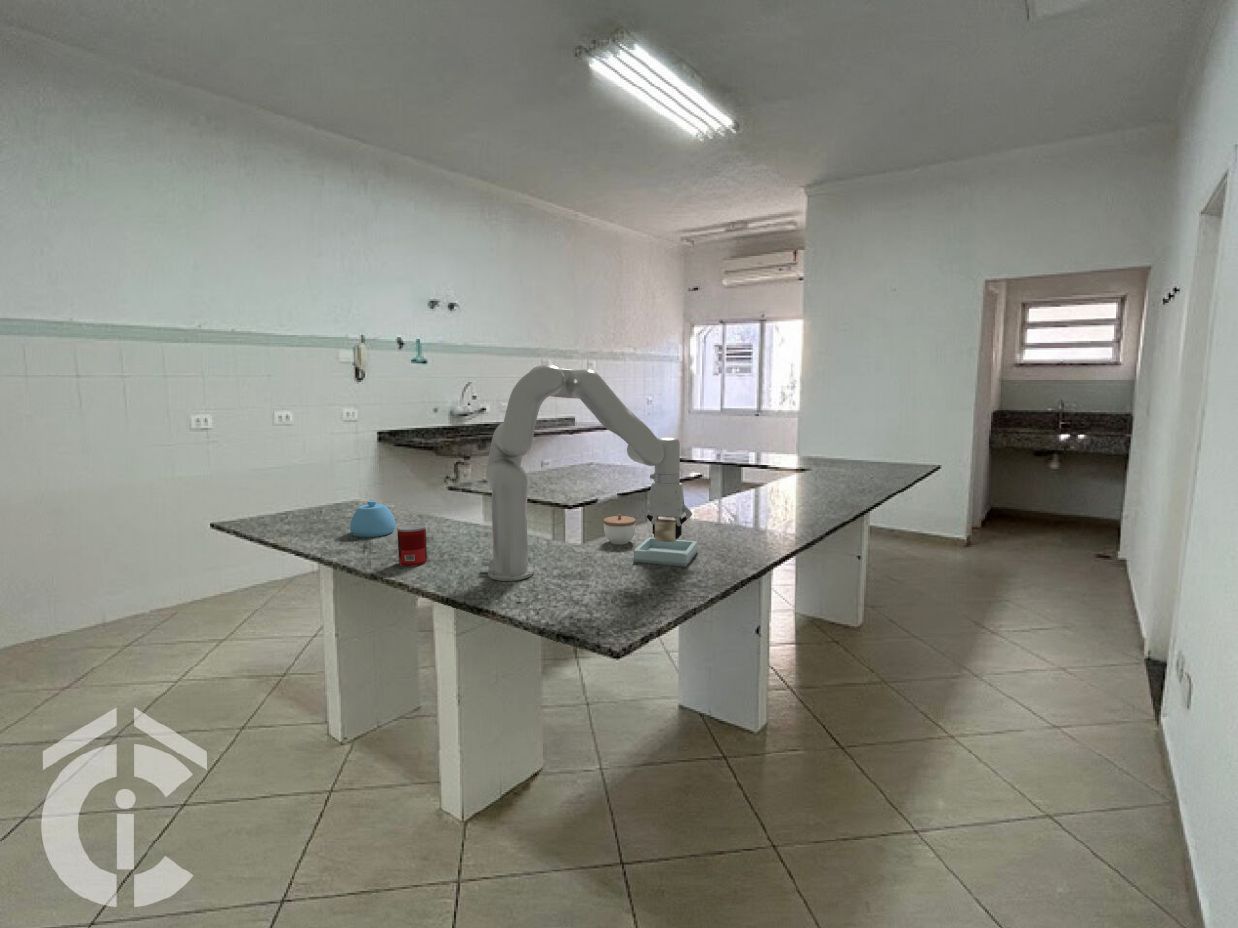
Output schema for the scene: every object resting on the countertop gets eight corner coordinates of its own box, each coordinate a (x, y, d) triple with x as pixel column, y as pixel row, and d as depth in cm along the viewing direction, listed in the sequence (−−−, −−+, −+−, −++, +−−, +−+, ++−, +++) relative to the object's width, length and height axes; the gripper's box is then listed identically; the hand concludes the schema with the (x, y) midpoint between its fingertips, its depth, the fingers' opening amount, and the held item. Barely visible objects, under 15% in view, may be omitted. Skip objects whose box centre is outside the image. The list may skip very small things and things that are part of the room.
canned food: (432, 562, 184) (430, 526, 182) (407, 568, 178) (405, 531, 177) (419, 557, 189) (417, 522, 188) (394, 563, 183) (392, 526, 182)
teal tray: (633, 561, 184) (633, 550, 183) (648, 547, 199) (648, 537, 198) (686, 566, 179) (686, 555, 178) (697, 552, 194) (697, 541, 194)
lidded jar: (618, 548, 199) (618, 519, 197) (597, 541, 207) (596, 514, 205) (642, 542, 206) (642, 514, 204) (621, 536, 214) (621, 509, 212)
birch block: (654, 540, 186) (654, 521, 186) (659, 536, 192) (659, 517, 191) (674, 542, 185) (674, 522, 184) (678, 537, 190) (678, 518, 189)
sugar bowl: (341, 537, 213) (339, 504, 212) (366, 527, 228) (364, 496, 226) (381, 539, 211) (379, 506, 209) (403, 528, 225) (402, 497, 224)
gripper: (636, 479, 185) (636, 538, 187) (692, 482, 179) (692, 542, 182) (642, 475, 192) (643, 532, 194) (697, 478, 186) (697, 536, 189)
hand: (666, 536), depth 188 cm, fingers closed on birch block, 6 cm apart
